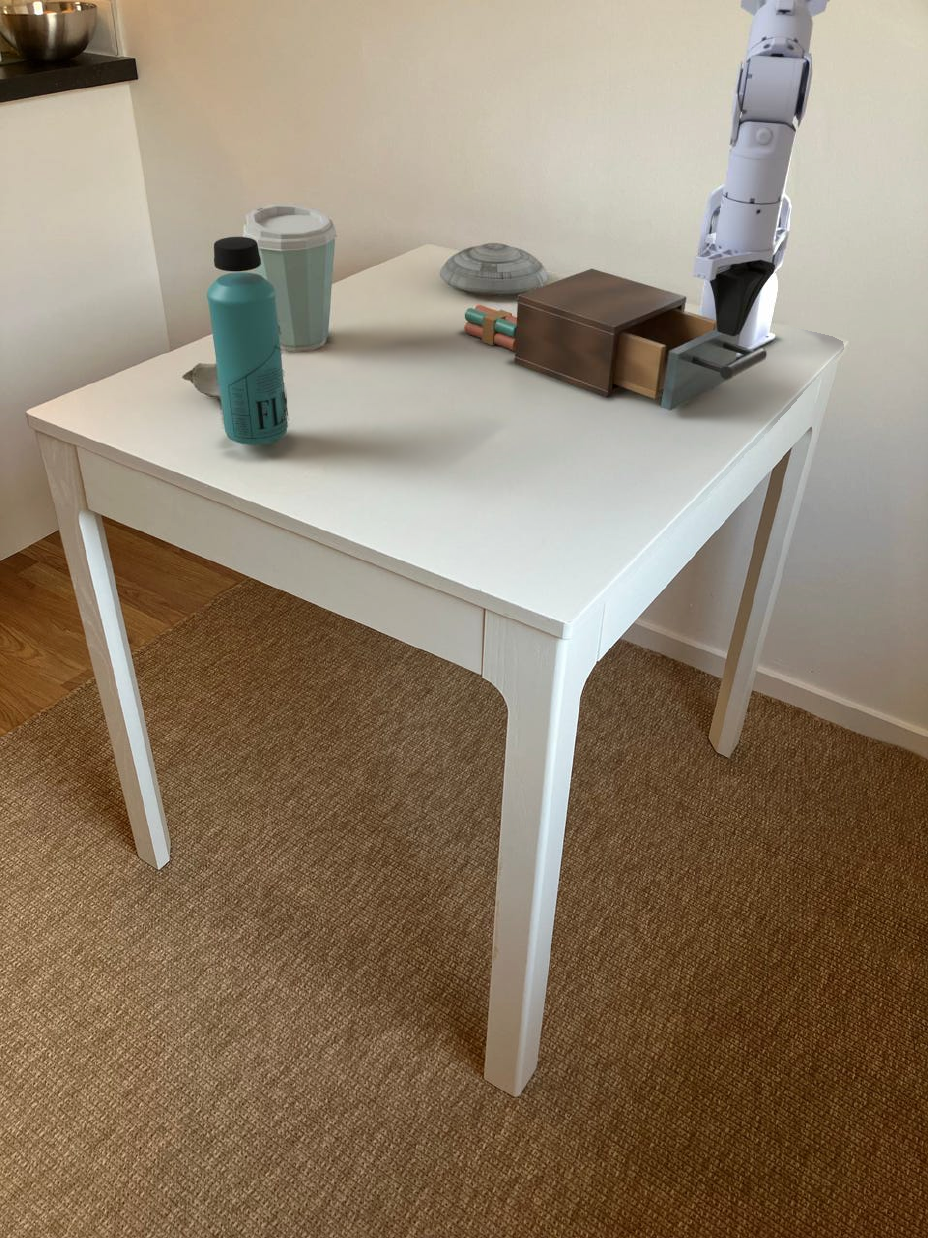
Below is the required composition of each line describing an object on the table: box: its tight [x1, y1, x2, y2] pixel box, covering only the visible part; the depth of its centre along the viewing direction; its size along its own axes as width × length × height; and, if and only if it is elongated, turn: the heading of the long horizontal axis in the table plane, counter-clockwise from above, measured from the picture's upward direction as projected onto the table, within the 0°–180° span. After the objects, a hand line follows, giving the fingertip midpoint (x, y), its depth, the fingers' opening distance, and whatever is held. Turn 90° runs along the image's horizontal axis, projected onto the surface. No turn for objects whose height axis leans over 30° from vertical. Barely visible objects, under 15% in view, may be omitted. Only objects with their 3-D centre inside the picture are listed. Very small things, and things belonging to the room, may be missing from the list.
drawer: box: [613, 308, 768, 411], centre depth 114 cm, size 17×12×6 cm
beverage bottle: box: [206, 236, 290, 446], centre depth 98 cm, size 6×7×20 cm
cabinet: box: [514, 268, 687, 399], centre depth 120 cm, size 14×14×8 cm
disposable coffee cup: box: [242, 203, 338, 353], centre depth 122 cm, size 11×11×15 cm
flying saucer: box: [439, 242, 549, 296], centre depth 143 cm, size 15×15×6 cm
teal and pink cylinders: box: [463, 304, 517, 352], centre depth 127 cm, size 8×3×3 cm, turn 47°
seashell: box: [181, 362, 221, 400], centre depth 113 cm, size 8×3×8 cm
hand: (728, 332), depth 109 cm, fingers closed
